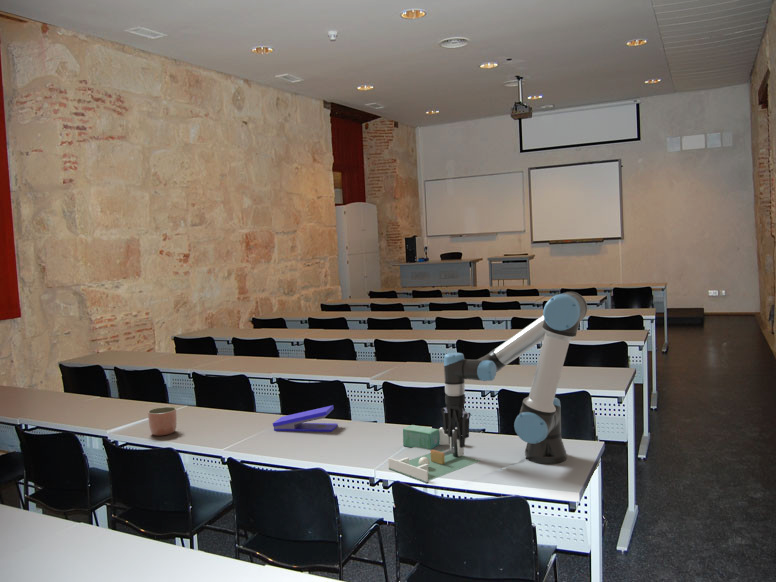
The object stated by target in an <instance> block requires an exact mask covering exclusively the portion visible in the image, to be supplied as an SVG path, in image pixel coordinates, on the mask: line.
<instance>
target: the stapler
mask: <svg viewBox="0 0 776 582" xmlns="http://www.w3.org/2000/svg"><path fill="white" fill-rule="evenodd" d="M334 408H335V407H334V404H332V405H328V406H323V407H320V408H316V409H310V410H306V411H302V412H301V411H300V412H297V413H293V414H288V415H284V416H281V417H279V418H278V419H276V420H275V421H274V422H272V426H273V431H274V432H313V433H314V432H316V433H317V432H318V433H319V432H321V433H323V432H324V433H325V432H326V433H329V432H331V433H332V432H333V431H334V430H335V429H336V428H337V427H338V424H339V423H336V422H334V423H332V422H331V423H327V422H326V423H325V422H324V423H323V422H314V421H317V420H322V419H325V418H326V417H327V416H328V415H329V414H330V413H331V412H332V411H333V410H334ZM312 421H313V422H312Z"/></svg>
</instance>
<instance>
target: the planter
mask: <svg viewBox="0 0 776 582" xmlns="http://www.w3.org/2000/svg"><path fill="white" fill-rule="evenodd" d="M147 418H148V426H149V430H150V433H151V434H152V435H153V436H157V437H159V436H161V437H163V436H168V435H170V434H173V433H174V432H175V431H176V429H177V423H178V422H177V421H178V420H177V419H178V418H177V408H176V407H174V406H161V407H155V408H152V409H149V410H148V411H147Z"/></svg>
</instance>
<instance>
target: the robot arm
mask: <svg viewBox="0 0 776 582" xmlns="http://www.w3.org/2000/svg"><path fill="white" fill-rule="evenodd" d="M587 312H588V304H587V300H586V299H585V298H584V297H583V296H582V295H581V294H579V293H578V292H575V291H566V292H563V293H560V294H559V293H558V294H555V295H553V296H552V297H550V298H549V300H547V302H546V303H545V304H544V307H543V311H542V313H543V315H541V316H539V317H538V318H537V319H535V320H534V321H533V322H531V323H529V324H528V325H527V326H525V327H524V328H522V329H521V330H519V331H518V332H517V333H515V334H514V335H512V336H511V337H510V338H508V339H507V340H505V341H504V342H503V343H501V344H500V345H499V346H498V345H497V347H496V348H494V349H492V350H491V351H490V352H489V353H487V354H486V355H484V356H481V357H479V358H478V359H466V358H465V355H464V353H462V352H448V353H446V354H445V355H444V356H443V357H444V358H443V373H444V393H445V396H444V400H445V407H443V408H440V412H441V414H442V424H443V430H444V433H445V434H447V435H448V436H449V444H450V445H449V449H451V448H453V445H452V429H454V428H457V430H458V436H459V438H457V451H458V456H462V455H463V456H465V449H464V448H465V447H466V445H465V444H466V443H465V441H466V440H465V439H467V438H469V437H470V418H471V412H467V411H466V409H465V404H466V394H465V392H466V390H465V387H466V385H465V380H471V381H482V382H491V381H494V380H495V378H496V375H497V372H499V371H501V370H502V368H504V367H506V366H508V364H510V363H511V362H513V361H515V360H516V359H517V358H519V357H520V356H522V355H523V354H525V353H526V352H528V351H529V350H530V349H532V348H533V347H535V346H536V345H539V344H540V343H541V342H542V345H541V349H540V351H539V352H540V353H539V356H538V360H537V364H536V369H535V371H534V376H533V379H532V383H531V387H530V390H529V395H528V396H527V397H525V398H523V400H522V404H521V407H520V410H519V414H517V416H516V418H515V420H514V423H513V424H514V425H513V427H514V428H513V429H514V431H515V433H516V435H517V436H518V438H519V439H520V440H522V441H523V442H525V443H526V446H525V451H524V456H525V458H526V459H527V460H528V461H530V462H533V463H535V464H536V463H537V464H545V465H546V464H548V465H549V464H551V465H552V464H560V463H562V462H564V461H566V460H567V450H566V448H565V445H564V441H563V439H562V422H561V421H562V415H561V414H562V413H561V407H562V406H561V401H560V399H559V398H557V397H556V393H557V389H558V387H559V382H560V378H561V375H562V371H563V367H564V363H565V361H566V357H567V353H568V349H569V345H570V342H571V340H572V339H574V338H576V337H577V333H578V330H579V325H580V322H582V321H583V320H584V319H585V317H586V315H587ZM452 454H453V453H452Z"/></svg>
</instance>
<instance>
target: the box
mask: <svg viewBox="0 0 776 582" xmlns="http://www.w3.org/2000/svg"><path fill="white" fill-rule="evenodd" d="M439 429H440V428H433V427H426V426H420V425H415V424H411V425H408V426H407V427H404V428H402V436H403V438H402V440H403V441H402V443H403V444H402V445H403V447H408V448H413V449H414V448H421V449H427V450H433V449H434V448H435V447H438V446H439V445H440V433H439Z"/></svg>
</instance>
